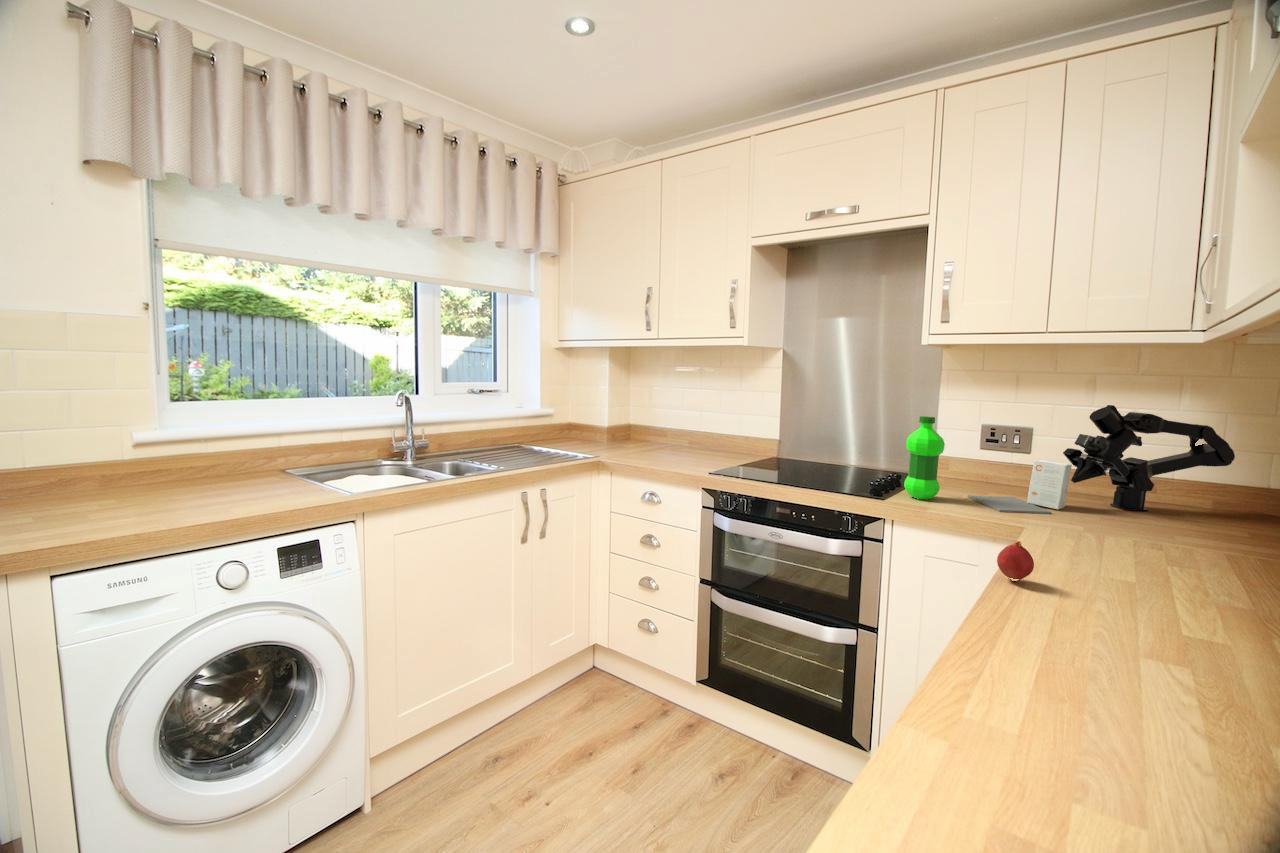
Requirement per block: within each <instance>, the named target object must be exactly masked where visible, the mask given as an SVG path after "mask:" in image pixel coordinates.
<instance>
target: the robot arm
mask: <svg viewBox="0 0 1280 853" xmlns="http://www.w3.org/2000/svg"><path fill="white" fill-rule="evenodd" d="M1089 420H1090V421H1091V422H1092V423H1093V424H1094V426H1095V427H1096V428H1097V429H1098V430H1099V431H1100V432H1101V433H1102V434H1103V435H1106V434H1107V435H1106V437H1105V436H1102V435H1097V436H1092V435H1088V434H1082V433H1079V434H1078V436H1077V438H1076V440H1075V442H1074V445H1075V446H1079V447H1081V448H1083V449H1084V450H1083V452H1082V450H1081V449H1077V448H1071V447H1069V448H1066V449H1064V451H1063V452H1062V454H1063V455H1064V456H1065V458H1066V459H1068V461H1069V462H1070V463H1071V465H1072V466H1073V467H1076V468H1075V471H1074V473H1073V475H1072V477H1071V479H1070V481H1071V482H1072V483H1073V484H1076V483H1080V482H1083V481H1087V480H1090V479H1094V478H1097V477H1102V476H1107V472H1108V476H1109V477H1110V481H1111V482H1110V483H1111V485H1113V486H1116V487H1115V491H1114V494H1113V501H1112V502H1111V503H1109V504H1110V506H1111V507H1116V508H1118V509H1121V510H1124V511H1138V512H1148V511H1149V508H1145V503H1146V495H1147V492H1151V491H1153V489H1154V486H1155V484H1154V482H1153V480H1151V478H1153V477H1154V476H1158V475H1163V474H1167V473H1172V472H1177V471H1178V472H1179V471H1183V470H1187V469H1191V468H1196V467H1201V466H1202V467H1228V466H1230V465H1232V464H1233V462H1234V460H1235V459H1236V455H1235V451H1234V450H1233V448H1232V447H1231V445H1230V444H1229V443H1228V442H1227V441H1226V440H1225V439H1223V438H1222V437H1221V436H1220V435H1219V434H1218V433H1217V432H1216V431H1215V429H1214V428H1213V427H1211V426H1210V425H1206V424H1197V423H1186V422H1179V421H1173V420H1168V419H1165V418H1163V417H1161V416H1159V415H1157V414H1156V415H1155V414H1152V413H1144V412H1137V411H1136V412H1135V411H1131V412H1127V414H1125V415H1122V414H1121V413H1120V412H1119V411H1118V408H1117V407H1116V406H1115V405H1114V404H1113V405H1112V404H1107V405H1106V406H1105V407H1100V408H1099V409H1097V410H1094V411H1092V413H1091V414H1090V415H1089ZM1136 433H1140V434H1147V435H1149V434H1161V433H1162V434H1163V433H1165V434H1172V435H1178V436H1184V437H1185V436H1186V437H1188V438H1189V447H1190V450H1189V451H1186V452H1183V453H1178V454H1173V455H1168V456H1164V457H1159V458H1154V459H1151V460H1147V459H1142V458H1137V457H1131V456H1130V457H1126V458H1124V456H1125V455H1124V454H1123V453H1124V452H1125V451H1126V450H1127V449H1129V448H1130V447H1131V446H1137V447H1142V446H1143V441H1142V438H1143V437H1142V436H1137V435H1136ZM1199 439H1201V440H1203V442H1204V444H1202V445H1198V446H1195V443H1196V442H1197V441H1198V440H1199ZM1122 458H1123V459H1122Z"/></svg>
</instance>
